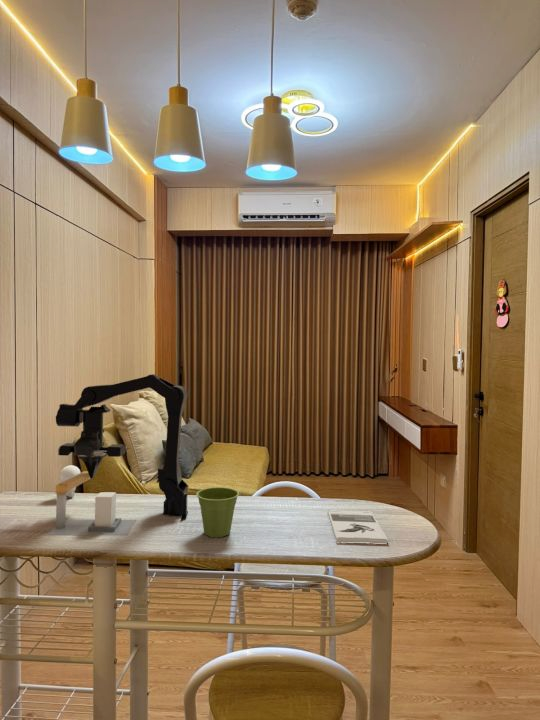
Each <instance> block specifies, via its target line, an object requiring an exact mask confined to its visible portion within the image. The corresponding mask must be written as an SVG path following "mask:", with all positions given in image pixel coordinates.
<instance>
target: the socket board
mask: <svg viewBox="0 0 540 720" xmlns="http://www.w3.org/2000/svg"><path fill="white" fill-rule="evenodd" d="M55 504H56V505H55V506H56V509H55V511H56V512H55V526H54V527H53V528H52V529H50V531H49V532H48V533H46V536H129V534H130V532H131V530H132V529H133V527H134V526H135V524H136V523H137V521H138V519H122V518H120V517H119V518H116V517H115V523H114V525H113V526H95V519H80V518H79V519H75V518H73V519H72V518H71V519H66V518H67V516H66V515H67V514H66V512H67V510H66V509H67V497H66V493H65V494H56V503H55Z"/></svg>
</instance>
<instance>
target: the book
mask: <svg viewBox="0 0 540 720" xmlns="http://www.w3.org/2000/svg"><path fill="white" fill-rule="evenodd" d="M328 516H329V518H328V520H330V521H329V523H331V524H330V527H331V526H332V528H331V530H332V529H333V531H332V533H334V534H333V537H334V536H335V537H334V540H335V539H336V540H335V543H336V542H370V543H371V542H372V543H388V544H389V539H388V537H387V535H386V534H385V532H384V530H383V529H382V527H381V525H380V524H379V522H378V521H377V518H376V517H375V515H374V513H373V512H372V511H368V510H367V511H363V510H333V509H331V510H330V509H329V510H328V509H327V517H328Z"/></svg>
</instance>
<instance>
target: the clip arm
mask: <svg viewBox="0 0 540 720" xmlns="http://www.w3.org/2000/svg"><path fill="white" fill-rule="evenodd" d="M90 479H91V480H92V478H90V476H89V474H88V471H85V470H84V471H82V472H81V473H80V474H78V475H76V476H74V477H72V478H70V479H68V480H66V481H64V482H60V483H57V484H55V494H56V495H57V494H65V493H67V492H68V491H70V490H71V489H73V488H75V487H76V488H77V487H78V486H80V485H82V484H84V483H85V482H88V481H89V480H90ZM76 488H75V489H76Z"/></svg>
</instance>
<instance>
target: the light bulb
mask: <svg viewBox="0 0 540 720" xmlns="http://www.w3.org/2000/svg"><path fill="white" fill-rule="evenodd" d="M80 473H82V472H81V469H80V468H79V467H78V466H76V465H72V464H70V465H66V466H65V467H63V468H62V469H61V471H60V473H59V480H60V483H62V482H64V481H66V480H68V479H70V478H72V477H74V476H76V475H78V474H80ZM76 488H77V487H75V488H73V489H71V490H70V491H68V492H67V493H66V499H67V498H68V499H72V498H73V497H74V496H75V491H76Z"/></svg>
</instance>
